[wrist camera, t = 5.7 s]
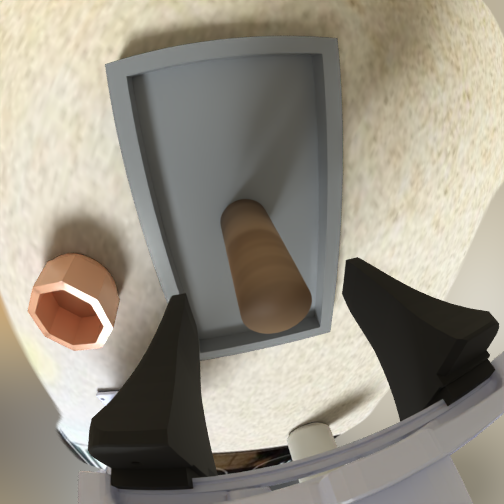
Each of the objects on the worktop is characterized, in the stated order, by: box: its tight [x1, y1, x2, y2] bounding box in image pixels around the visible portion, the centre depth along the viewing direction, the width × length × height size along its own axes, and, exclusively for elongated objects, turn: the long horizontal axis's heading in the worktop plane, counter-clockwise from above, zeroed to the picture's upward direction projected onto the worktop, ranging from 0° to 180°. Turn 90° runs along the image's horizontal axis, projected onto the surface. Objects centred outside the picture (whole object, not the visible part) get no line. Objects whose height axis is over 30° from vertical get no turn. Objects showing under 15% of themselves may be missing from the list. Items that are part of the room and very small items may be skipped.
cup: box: [28, 253, 120, 351], centre depth 18 cm, size 6×6×4 cm
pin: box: [220, 199, 312, 334], centre depth 15 cm, size 3×3×8 cm
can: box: [287, 422, 344, 483], centre depth 36 cm, size 8×8×12 cm
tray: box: [105, 36, 343, 361], centre depth 18 cm, size 22×12×2 cm, turn 6°
